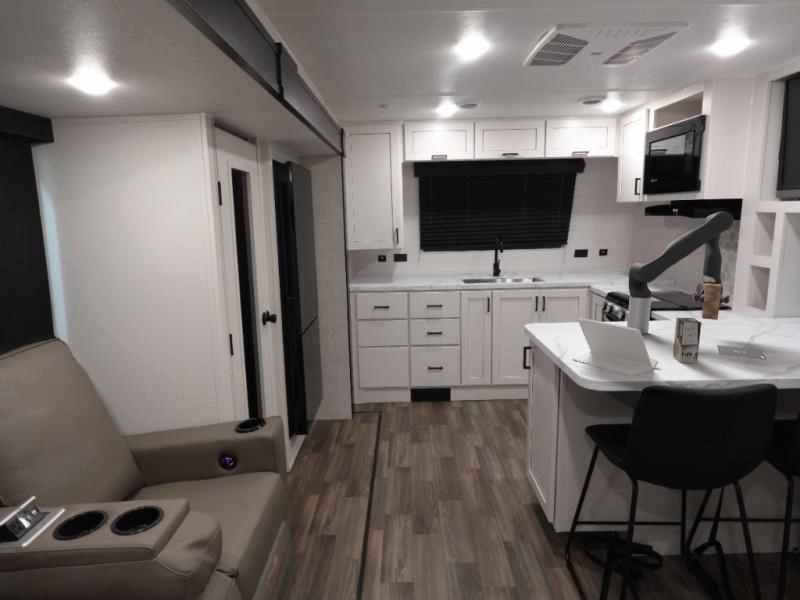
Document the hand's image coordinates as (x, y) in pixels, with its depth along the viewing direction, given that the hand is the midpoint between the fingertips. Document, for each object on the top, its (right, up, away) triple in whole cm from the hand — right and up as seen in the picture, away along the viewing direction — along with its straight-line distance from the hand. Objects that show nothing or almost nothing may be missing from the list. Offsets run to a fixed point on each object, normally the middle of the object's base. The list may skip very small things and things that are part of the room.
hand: (711, 301), depth 210 cm
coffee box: (-16, -23, -9) cm, 30 cm away
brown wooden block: (+1, -7, +4) cm, 8 cm away
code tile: (+12, -21, 0) cm, 24 cm away
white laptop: (-46, -24, -13) cm, 53 cm away
